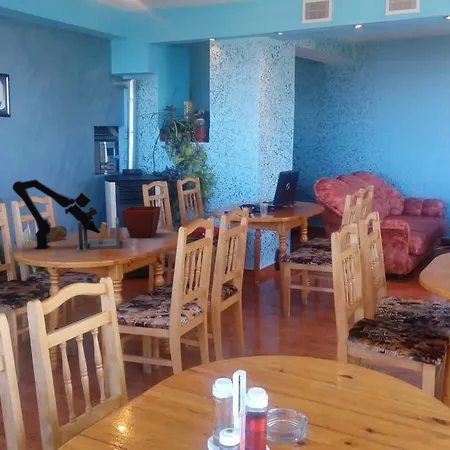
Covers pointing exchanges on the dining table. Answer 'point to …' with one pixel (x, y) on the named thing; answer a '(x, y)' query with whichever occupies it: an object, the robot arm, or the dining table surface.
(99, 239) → the lever
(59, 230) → the tin
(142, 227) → the plant pot
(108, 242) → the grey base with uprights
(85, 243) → the stand
